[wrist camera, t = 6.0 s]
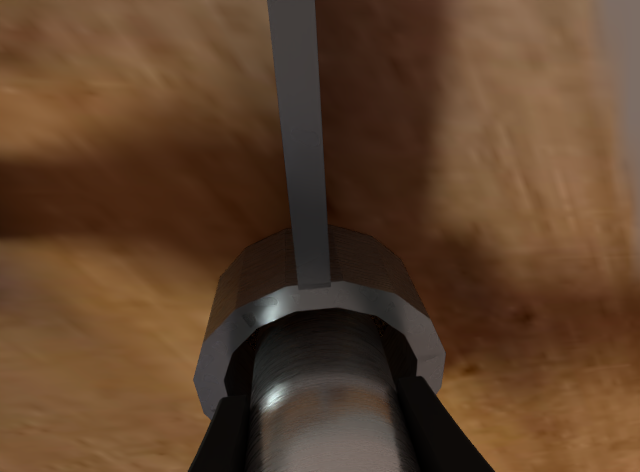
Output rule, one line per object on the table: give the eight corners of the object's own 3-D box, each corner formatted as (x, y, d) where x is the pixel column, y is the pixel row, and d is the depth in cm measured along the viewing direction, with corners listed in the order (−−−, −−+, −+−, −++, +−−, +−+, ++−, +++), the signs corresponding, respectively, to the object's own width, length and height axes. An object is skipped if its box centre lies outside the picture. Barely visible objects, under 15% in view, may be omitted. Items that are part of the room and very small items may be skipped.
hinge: (401, 470, 19) (419, 542, 16) (256, 487, 19) (252, 563, 16) (440, -52, 9) (506, -84, 6) (124, -32, 8) (53, -57, 6)
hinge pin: (381, 378, 13) (461, 672, 7) (268, 395, 13) (255, 704, 7) (375, 287, 12) (477, 583, 5) (243, 306, 12) (197, 627, 5)
